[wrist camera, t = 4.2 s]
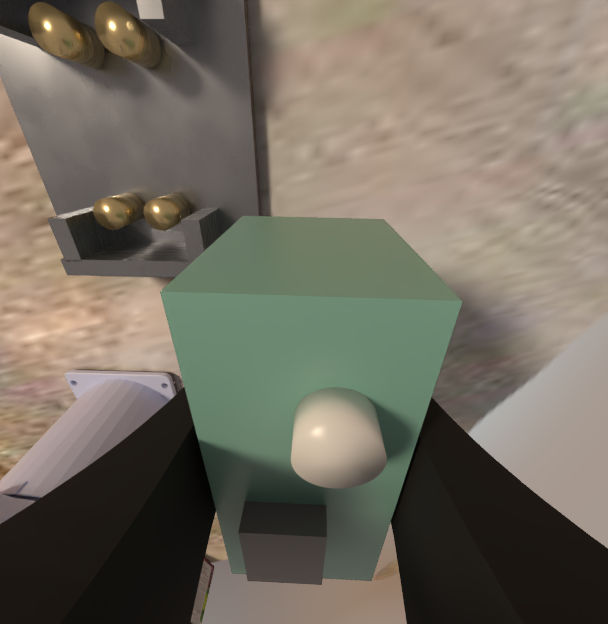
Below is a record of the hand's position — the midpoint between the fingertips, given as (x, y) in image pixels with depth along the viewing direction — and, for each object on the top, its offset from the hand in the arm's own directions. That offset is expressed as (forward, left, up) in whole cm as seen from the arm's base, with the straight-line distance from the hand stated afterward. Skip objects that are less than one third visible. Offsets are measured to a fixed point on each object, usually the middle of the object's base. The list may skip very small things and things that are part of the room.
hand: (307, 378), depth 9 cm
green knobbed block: (0, 0, -2) cm, 2 cm away
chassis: (+7, +8, -9) cm, 14 cm away
